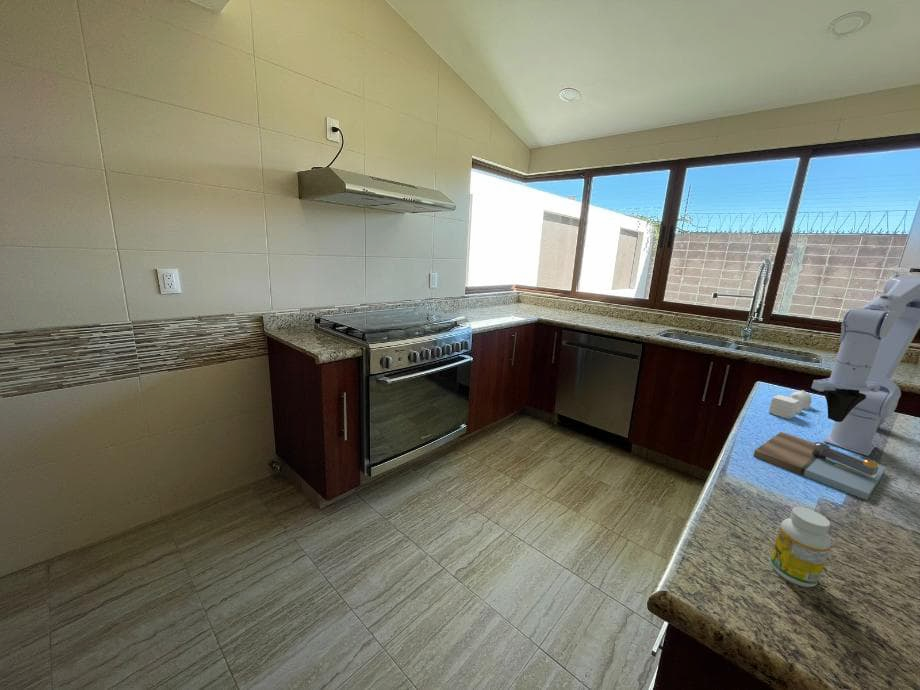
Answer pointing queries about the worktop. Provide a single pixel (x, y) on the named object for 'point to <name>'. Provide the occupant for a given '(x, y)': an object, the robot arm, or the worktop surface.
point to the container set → (790, 404)
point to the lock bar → (845, 459)
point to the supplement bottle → (802, 547)
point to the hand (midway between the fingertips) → (834, 419)
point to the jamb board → (787, 452)
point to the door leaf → (844, 476)
